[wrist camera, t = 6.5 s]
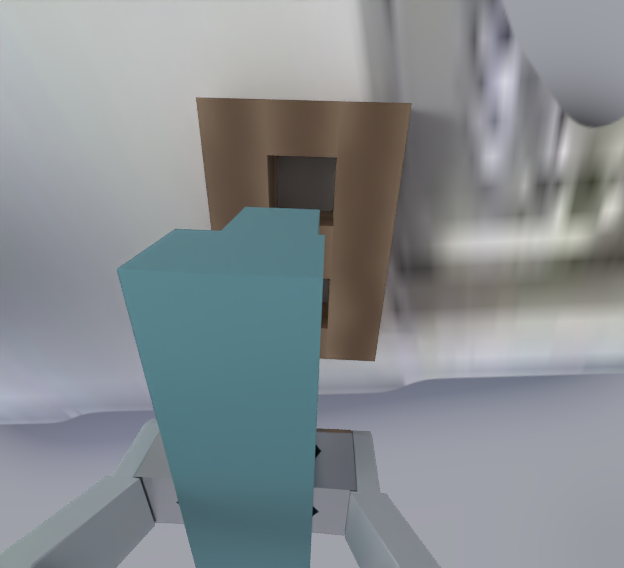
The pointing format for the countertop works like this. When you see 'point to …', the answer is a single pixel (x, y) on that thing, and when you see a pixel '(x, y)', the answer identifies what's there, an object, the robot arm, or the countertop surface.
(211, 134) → the wooden board with holes
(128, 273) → the teal long block
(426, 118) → the countertop surface
